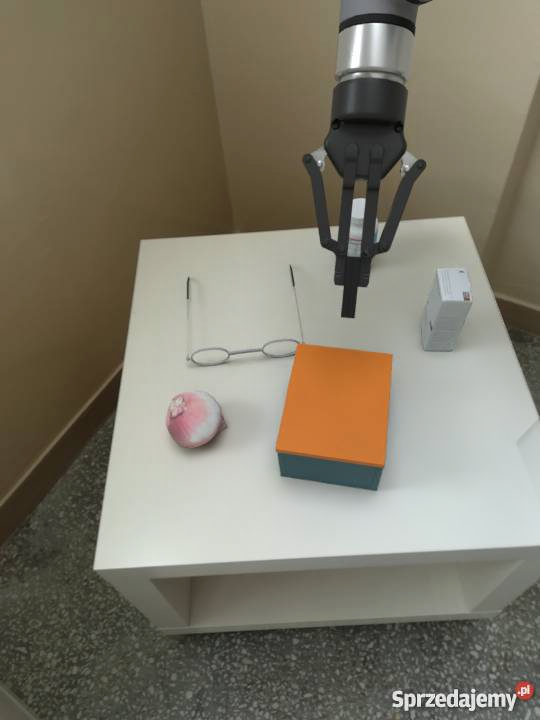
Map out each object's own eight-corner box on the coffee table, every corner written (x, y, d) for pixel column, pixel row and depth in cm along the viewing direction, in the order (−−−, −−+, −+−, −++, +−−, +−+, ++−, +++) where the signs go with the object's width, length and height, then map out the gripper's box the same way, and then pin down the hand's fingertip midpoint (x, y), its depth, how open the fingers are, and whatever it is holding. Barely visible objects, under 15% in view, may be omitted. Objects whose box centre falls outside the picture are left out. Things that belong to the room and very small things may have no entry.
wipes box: (376, 491, 68) (383, 467, 62) (280, 476, 70) (276, 451, 64) (385, 387, 76) (391, 357, 70) (299, 377, 78) (297, 346, 72)
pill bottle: (364, 242, 93) (369, 190, 83) (380, 265, 89) (388, 213, 80) (332, 253, 92) (334, 201, 83) (347, 277, 89) (351, 225, 79)
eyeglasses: (188, 369, 80) (183, 354, 77) (188, 280, 91) (183, 263, 88) (306, 355, 80) (305, 339, 77) (291, 267, 91) (290, 250, 88)
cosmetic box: (419, 320, 83) (434, 265, 73) (449, 320, 82) (467, 265, 72) (423, 353, 79) (439, 300, 69) (454, 353, 79) (474, 300, 69)
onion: (181, 401, 77) (169, 375, 72) (232, 407, 76) (225, 381, 70) (166, 451, 73) (153, 428, 67) (220, 459, 72) (211, 436, 66)
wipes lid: (384, 468, 60) (384, 465, 60) (275, 452, 62) (275, 448, 62) (391, 357, 70) (392, 353, 69) (297, 346, 72) (297, 342, 71)
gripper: (430, 97, 56) (403, 316, 62) (308, 92, 58) (292, 307, 63) (444, 76, 49) (411, 326, 55) (304, 71, 51) (286, 316, 56)
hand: (347, 316), depth 59 cm, fingers closed
